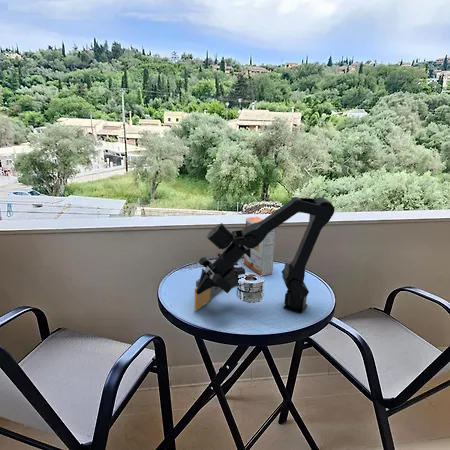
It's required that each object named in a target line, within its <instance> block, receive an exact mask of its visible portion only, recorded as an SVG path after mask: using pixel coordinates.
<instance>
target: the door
mask: <svg viewBox="0 0 450 450" xmlns="http://www.w3.org/2000/svg"><path fill="white" fill-rule="evenodd" d="M196 290H197V287H196V286H195V288H194V306H193V307H194V308H193V309H194V311H198V310H199V309H200V308H202V307H203V306H206V305H207V304H208V303H211V301H212V298H211V288H209V289H207V290H206V291H204V292H202V293H200V294H197V293H196Z"/></svg>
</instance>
